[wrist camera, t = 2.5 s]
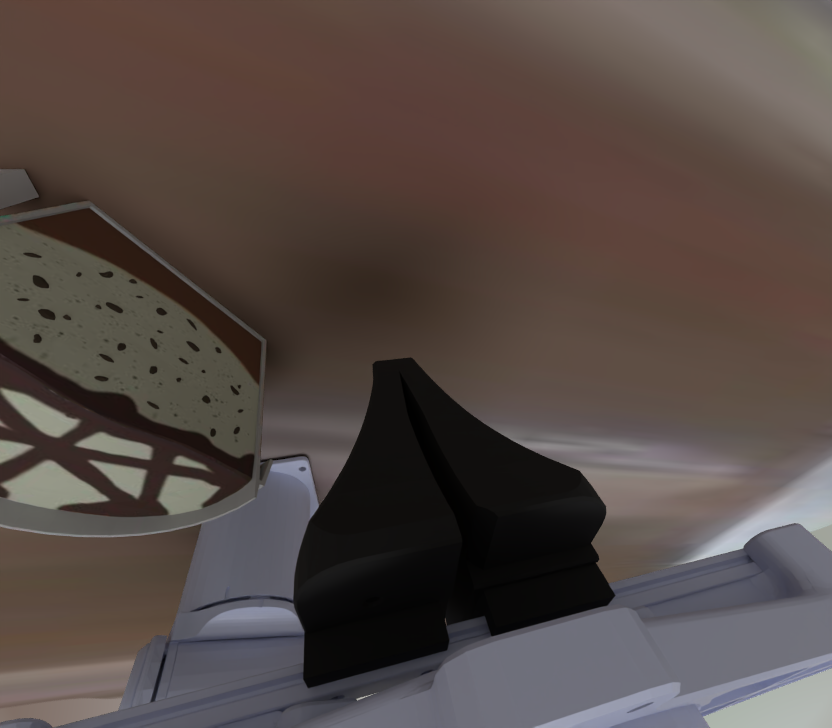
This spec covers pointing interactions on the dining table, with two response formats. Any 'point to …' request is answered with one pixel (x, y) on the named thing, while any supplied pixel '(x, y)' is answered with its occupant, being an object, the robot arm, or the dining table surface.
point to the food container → (118, 385)
